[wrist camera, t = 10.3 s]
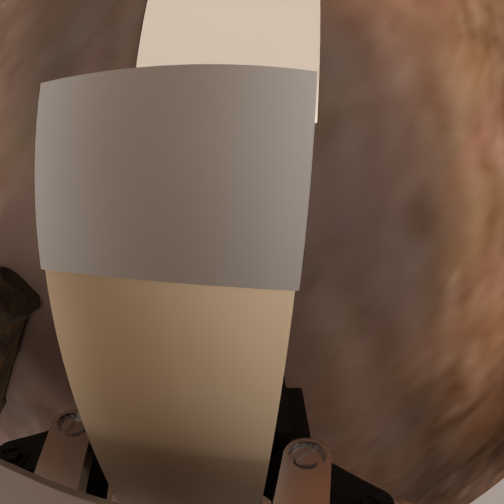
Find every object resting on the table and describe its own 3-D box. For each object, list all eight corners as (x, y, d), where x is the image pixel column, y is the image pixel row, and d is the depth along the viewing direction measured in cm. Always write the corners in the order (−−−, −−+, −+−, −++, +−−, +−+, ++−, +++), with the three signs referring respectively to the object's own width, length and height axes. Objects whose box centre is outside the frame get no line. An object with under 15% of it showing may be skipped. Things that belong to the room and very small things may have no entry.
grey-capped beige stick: (281, 123, 10) (316, 71, 4) (247, 489, 14) (245, 579, 9) (153, 120, 9) (41, 83, 4) (175, 482, 14) (157, 568, 9)
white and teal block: (305, 131, 14) (309, -38, 11) (316, 122, 11) (318, -67, 9) (152, 125, 14) (176, -41, 11) (130, 116, 11) (165, -69, 8)
